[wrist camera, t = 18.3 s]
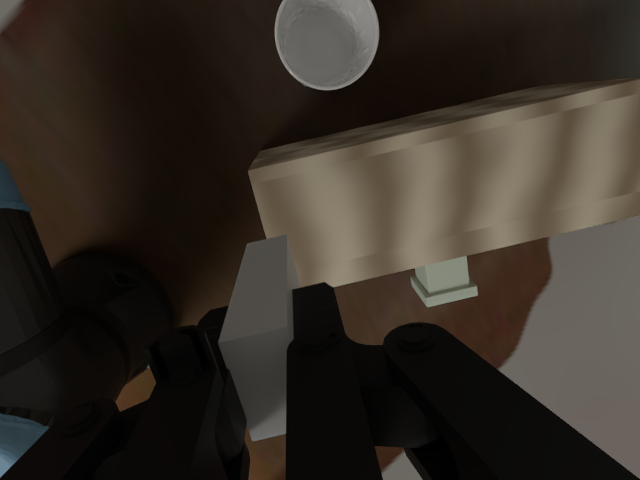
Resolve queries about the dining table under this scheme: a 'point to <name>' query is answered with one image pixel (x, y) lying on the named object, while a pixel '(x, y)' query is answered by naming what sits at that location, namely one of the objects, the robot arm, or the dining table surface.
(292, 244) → the console
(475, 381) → the robot arm
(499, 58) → the dining table surface
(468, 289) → the button
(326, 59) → the white cup
